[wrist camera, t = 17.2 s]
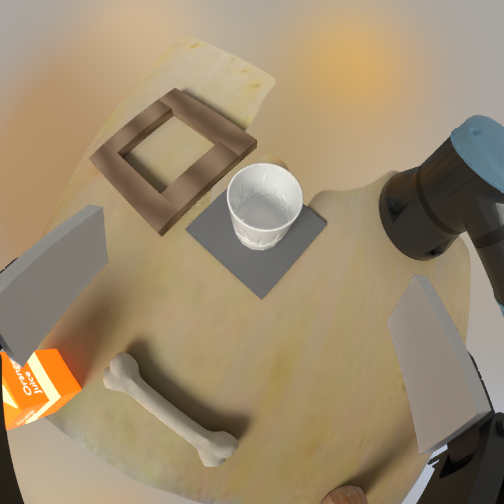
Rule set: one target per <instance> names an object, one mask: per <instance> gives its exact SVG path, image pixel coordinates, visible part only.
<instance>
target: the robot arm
mask: <svg viewBox="0 0 504 504" xmlns="http://www.w3.org/2000/svg"><path fill="white" fill-rule="evenodd" d="M379 211H380V217H381V221H382V224H383V227H384V229H385V231H386V233H387V235H388V237H389V238H390V240H391V241H392V243H393V244H394V245H395V246H396V247H397V248H398V249H399V250H400V251H401V252H402V253H404V254H405V255H407V256H408V257H410V258H413V259H416V260H421V261H424V260H430V259H433V258H435V257H437V256H440V255H441V254H443V253H444V252H445V251H446V250H447V249H448V248H449V247H450V245H451V244H452V243H453V242H454V241H455V240H456V238H457V237H458V236H459V235H460V234H461V233H463V232H465V231H467V233H468V234H469V236H470V238H471V240H472V242H473V244H474V246H475V249H476V251H477V253H478V255H479V257H480V259H481V261H482V264H483V266H484V268H485V271H486V273H487V275H488V278H489V280H490V283H491V285H492V288H493V292H494V297H495V299H496V301H497V303H498V305H499V306H500V309H501V311H502V314H503V316H504V127H503V126H502V125H500V124H499V123H497V122H496V121H494V120H493V119H491V118H489V117H486V116H481V115H476V116H472V117H470V118H469V119H467V120H466V121H465V122H464V123H463V124H462V125H461V126H460V127H458V128H456V129H454V130H453V131H452V133H451V136H450V137H449V138H448V139H447V140H446V141H445V142H444V143H443V144H442V145H441V146H440V147H439V148H438V149H437V150H436V151H435V152H434V153H433V154H432V155H431V156H430V157H429V158H428V159H427V160H426V161H425V162H424V163H423V164H422V165H420V166H418V167H415V168H412V169H409V170H406V171H403V172H400V173H398V174H396V175H395V176H393V177H392V178H391V179H390V180H389V181H388V182H387V183H386V185H385V186H384V187H383V189H382V192H381V195H380V199H379ZM107 263H108V255H107V247H106V238H105V227H104V215H103V207H100V206H95V205H90V204H89V205H88V206H86V207H85V208H83V209H82V210H81V211H79V212H78V213H76V214H75V215H73V216H72V217H70V218H69V219H68V220H66V221H65V222H63V223H62V224H61V225H59V226H58V227H56V228H55V229H54V230H52V231H51V232H50V233H48V234H47V235H46V236H45V237H43V238H42V239H41V240H39V241H38V242H37V243H36V244H35V245H33V246H32V247H31V248H29V249H28V250H27V251H26V252H25V253H23V254H22V255H21V256H20V257H18V258H16V259H15V260H13V261H12V262H11V263H10V264H9V265H7V266H6V267H5V270H4V269H3V270H2V271H1V272H0V350H1V349H2V348H3V350H4V351H5V353H6V354H7V356H8V357H9V359H10V360H12V361H13V362H14V363H16V364H17V365H19V366H20V367H21V368H23V367H24V366H25V364H26V363H27V361H28V360H29V358H30V357H31V355H32V354H33V353H34V351H35V350H36V348H37V347H38V346H39V344H40V343H41V342H42V340H43V339H44V338H45V336H46V335H47V334H48V332H49V331H50V330H51V328H52V327H53V326H54V325H55V323H56V322H57V321H58V319H59V318H60V317H61V316H62V315H63V313H64V312H65V311H66V310H67V308H68V307H69V306H70V305H71V304H72V302H73V301H74V300H75V299H76V298H77V296H78V295H79V294H80V293H81V292H82V291H83V289H84V288H85V287H86V286H87V285H88V284H89V283H90V281H91V280H92V279H93V278H94V277H95V276H96V275H97V274H98V273H99V271H100V270H101V269H102V268H103V267H104V266H105V265H106V264H107ZM387 325H388V328H389V331H390V335H391V338H392V341H393V344H394V347H395V351H396V354H397V358H398V361H399V365H400V368H401V372H402V375H403V379H404V383H405V387H406V391H407V395H408V399H409V404H410V408H411V413H412V417H413V422H414V427H415V432H416V438H417V444H418V450H419V455H420V454H425V453H430V452H434V451H436V450H438V449H439V448H441V447H443V446H444V445H446V444H447V447H448V449H447V450H446V451H444V452H442V453H441V454H439V455H437V456H435V457H434V458H433V459H430V461H429V462H428V463H427V464H428V465H430V464H432V463H433V462H435V461H437V460H439V462H437V463H436V464H434V465H433V466H432V467H433V468H435V470H434V472H433V474H432V476H431V478H430V480H429V482H428V484H427V486H426V488H425V490H424V492H423V493H422V495H421V497H420V499H419V500H418V502H417V504H504V413H501V412H499V413H496V414H495V411H494V409H493V406H492V403H491V401H490V398H489V395H488V392H487V390H486V387H485V385H484V382H483V380H481V378H482V377H481V375H480V372H479V371H478V368H477V365H476V363H475V361H474V359H473V357H472V356H471V355H470V353H469V352H468V351H467V349H466V347H465V345H464V342H463V340H462V338H461V336H460V334H459V332H458V330H457V329H456V327H455V325H454V323H453V321H452V319H451V317H450V315H449V313H448V312H447V310H446V308H445V306H444V305H443V303H442V301H441V299H440V298H439V296H438V294H437V293H436V291H435V289H434V288H433V286H432V284H431V283H430V281H429V279H428V278H427V277H424V276H420V275H416V274H414V275H413V277H412V278H411V280H410V282H409V284H408V286H407V288H406V290H405V291H404V293H403V295H402V297H401V298H400V300H399V302H398V304H397V305H396V307H395V309H394V310H393V312H392V314H391V315H390V317H389V318H388V320H387ZM0 504H24V502H23V499H22V496H21V493H20V489H19V486H18V483H17V479H16V476H15V472H14V468H13V463H12V459H11V455H10V449H9V444H8V439H7V432H6V424H5V415H4V405H3V388H2V356H1V354H0Z"/></svg>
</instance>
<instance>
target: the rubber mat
mask: <svg viewBox="0 0 504 504" xmlns="http://www.w3.org/2000/svg"><path fill="white" fill-rule="evenodd" d="M227 189H228V188H227ZM227 189H226V190H225V191H224V192H223V193H222V194H221V195H220V196H219V197H217V198H216V199H215V200H214V201H213V202H212V203H211V204H210V205H209V206H208V207H207V208H206V209H205V210H204V211H203V212H202V213H201V214H200V215H199V216H198V217H197V218H196V219H195V220H194V221H193V222H192V223H191V224H190V225H189V226H188V227H187V228H186V231H187V232H188V233H189V234H190V235H191V236H193V237H194V238H195V239H196V240H197V241H198V242H199V243H200V244H201V245H202V246H203V247H204V248H205V249H206V250H208V251H209V252H210V253H211V254H212V255H213V256H214V257H215V258H216V259H217V260H218V261H219V262H221V263H222V264H223V265H224V266H225V267H226V268H227V269H228V270H229V271H230V272H231V273H233V274H234V275H235V276H236V277H237V278H238V279H239V280H240V281H241V282H243V283H244V284H245V285H246V286H247V287H248V288H249V289H250V290H251V291H253V292H254V293H255V294H256V295H257V296H258V297H259V298H260V299H262V298H263V297H264V296H265V295H266V294H267V293H268V292H269V290H270V289H271V288H272V287H273V286H274V285H275V284H276V283H277V281H278V280H279V279H280V278H281V277H282V276H283V275H284V274H285V272H286V271H287V270H288V269H289V268H290V267H291V266H292V264H293V263H294V262H295V261H296V260H297V259H298V257H299V256H300V255H301V254H302V253H303V252H304V250H305V249H306V248H307V247H308V246H309V245H310V243H311V242H312V241H313V240H314V239H315V238H316V236H317V235H318V234H319V233H320V232H321V230H322V229H323V228H324V227H325V226H326V223H325V222H324V221H323V220H322V219H321V218H319V217H318V216H317V215H316V214H315V213H314V212H312V211H311V210H310V209H309V208H308V207H306V206H305V205H304V204H303V205H302V209H301V211H300V213H299V215H298V217H297V218H296V220H295V221H294V223H293V224H292V226H291V227H290V229H289V230H288V232H287V233H286V234H285V235H284V237H283V238H282V239H281V240H280V241H279V242H278V243H277V244H276V245H275V246H274V247H272V248H269V249H266V250H264V251H262V250H252V249H250V248H248V247H247V246H245V245H243V244H242V243H241V241H240V240H239V239H238V237H237V236H236V233H235V229H234V227H233V224H232V220H231V216H230V212H229V207H228V203H227Z"/></svg>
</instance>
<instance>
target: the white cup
mask: <svg viewBox="0 0 504 504" xmlns="http://www.w3.org/2000/svg"><path fill="white" fill-rule="evenodd" d="M227 203H228V207H229V212H230V216H231V220H232V224H233V227H234V229H235V233H236V236H237V237H238V239H239V240H240V241H241V243H242V244H243V245H245V246H247V247H248V248H250V249H252V250H262V251H264V250H266V249H269V248H272V247H274V246H275V245H276V244H277V243H278V242H279V241H280V240H281V239H282V238H283V237H284V235H285V234H286V233H287V232H288V230H289V229H290V227H291V226H292V224H293V223H294V221H295V220H296V218H297V217H298V215H299V213H300V211H301V209H302V205H303V192H302V189H301V186H300V184H299V182H298V181H297V179H296V178H295V177H294V176H293V175H292V174H291V173H290V172H289V171H288V170H286V169H284V168H283V167H281V166H278V165H275V164H270V163H256V164H252V165H249V166H247V167H245V168H243V169H241V170H240V171H239V172H238V173H236V174H235V176H234V177H233V178H232V180H231V181H230V183H229V186H228V189H227Z"/></svg>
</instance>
